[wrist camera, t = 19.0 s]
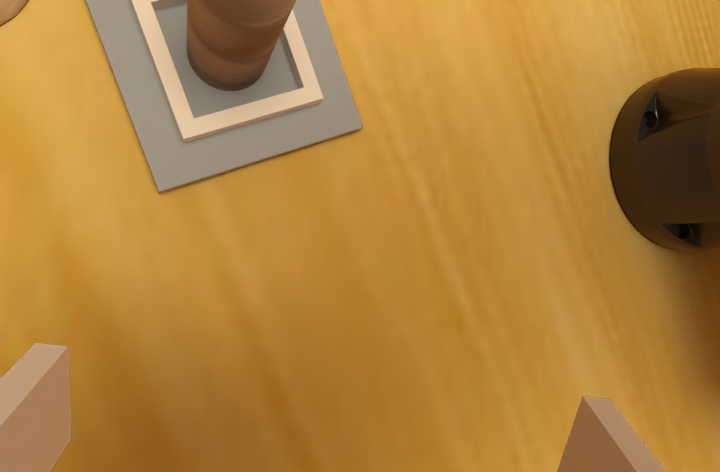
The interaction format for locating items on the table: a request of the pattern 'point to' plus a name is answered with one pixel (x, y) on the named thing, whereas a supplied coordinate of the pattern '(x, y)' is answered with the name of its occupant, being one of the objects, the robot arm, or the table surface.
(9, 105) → the table surface
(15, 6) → the hand bell
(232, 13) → the walnut pin
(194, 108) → the board
